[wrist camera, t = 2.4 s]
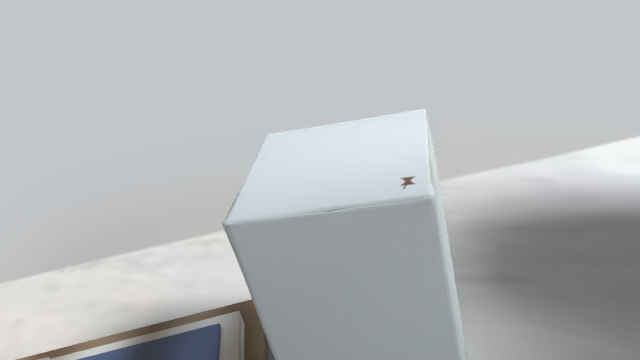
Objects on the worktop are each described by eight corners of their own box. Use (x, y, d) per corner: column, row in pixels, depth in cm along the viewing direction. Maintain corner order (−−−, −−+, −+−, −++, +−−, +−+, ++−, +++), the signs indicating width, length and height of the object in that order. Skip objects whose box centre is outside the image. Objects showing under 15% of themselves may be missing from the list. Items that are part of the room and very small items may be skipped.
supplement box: (465, 327, 30) (432, 103, 24) (478, 458, 24) (438, 195, 18) (327, 336, 32) (265, 128, 26) (304, 460, 25) (216, 221, 19)
